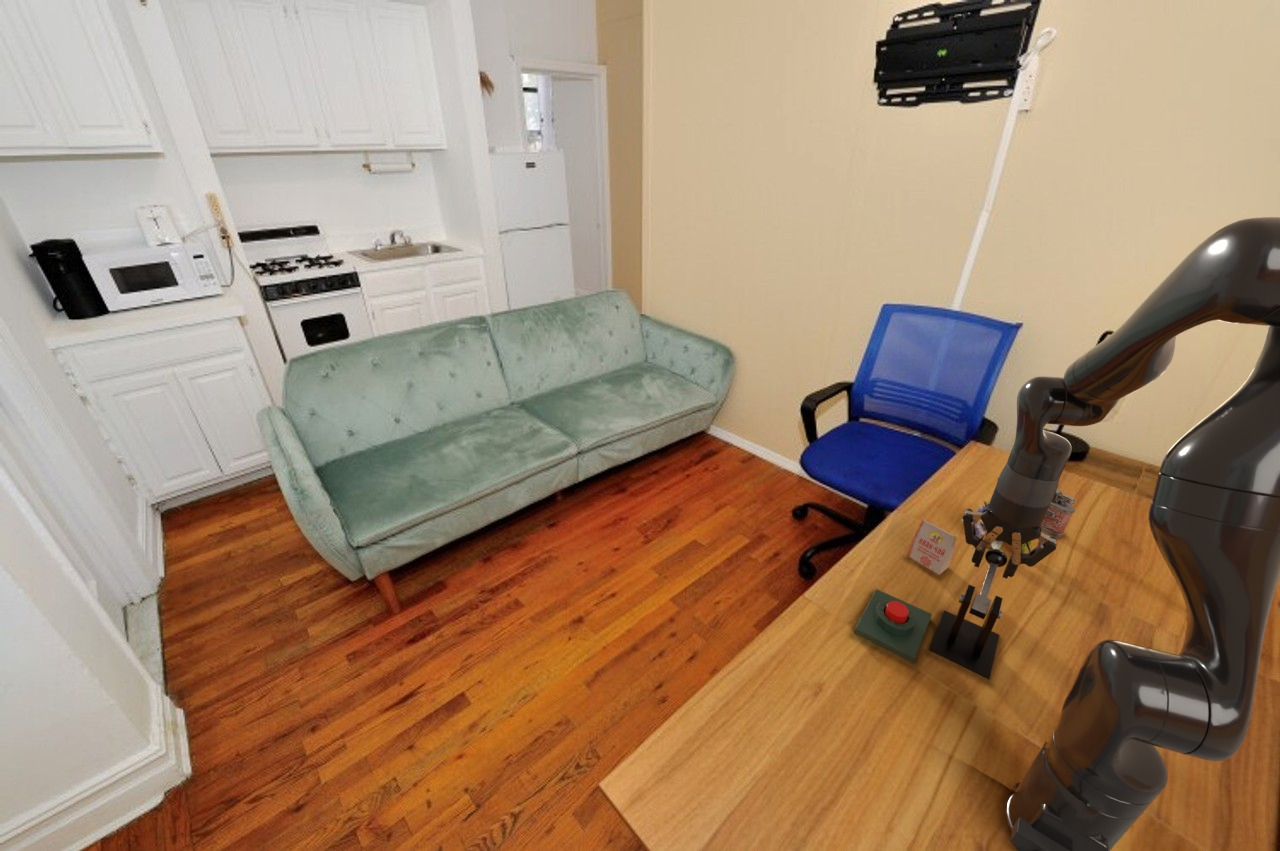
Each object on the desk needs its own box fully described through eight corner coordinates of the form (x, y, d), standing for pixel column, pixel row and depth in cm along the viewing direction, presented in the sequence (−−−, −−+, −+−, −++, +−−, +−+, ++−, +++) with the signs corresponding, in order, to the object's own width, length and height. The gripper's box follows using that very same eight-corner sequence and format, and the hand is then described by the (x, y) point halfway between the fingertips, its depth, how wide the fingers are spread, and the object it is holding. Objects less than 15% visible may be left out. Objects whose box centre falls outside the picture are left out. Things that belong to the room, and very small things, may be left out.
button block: (911, 666, 86) (917, 651, 84) (853, 636, 92) (857, 621, 90) (929, 622, 94) (934, 607, 93) (873, 596, 100) (878, 581, 98)
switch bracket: (942, 614, 96) (959, 568, 90) (997, 639, 91) (1019, 591, 85) (928, 653, 89) (945, 606, 83) (987, 683, 83) (1010, 634, 78)
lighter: (1020, 518, 120) (1035, 484, 116) (1029, 514, 121) (1044, 480, 117) (1057, 539, 114) (1074, 503, 109) (1066, 534, 115) (1083, 499, 110)
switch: (986, 550, 92) (990, 542, 90) (1007, 558, 90) (1011, 550, 88) (965, 612, 86) (968, 605, 84) (986, 621, 85) (990, 614, 82)
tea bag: (916, 552, 111) (927, 516, 106) (947, 570, 106) (960, 533, 101) (906, 559, 109) (917, 522, 104) (938, 577, 104) (951, 540, 99)
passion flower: (974, 564, 115) (950, 518, 114) (998, 538, 119) (976, 494, 119) (1027, 569, 104) (1002, 519, 104) (1051, 541, 109) (1027, 492, 108)
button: (903, 626, 89) (905, 620, 88) (882, 616, 91) (884, 610, 91) (909, 614, 92) (911, 607, 91) (888, 604, 94) (890, 597, 93)
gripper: (969, 487, 84) (942, 564, 92) (1077, 520, 76) (1037, 601, 84) (977, 467, 89) (951, 542, 97) (1079, 496, 81) (1041, 575, 89)
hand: (991, 569), depth 90 cm, fingers open, 3 cm apart
